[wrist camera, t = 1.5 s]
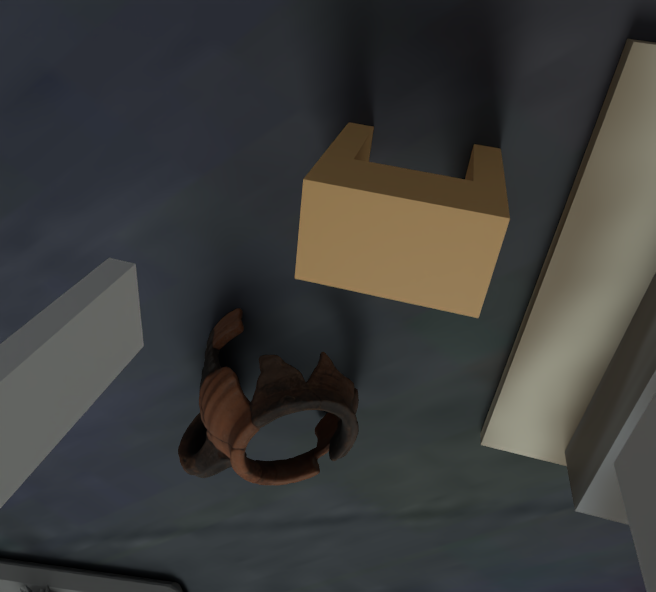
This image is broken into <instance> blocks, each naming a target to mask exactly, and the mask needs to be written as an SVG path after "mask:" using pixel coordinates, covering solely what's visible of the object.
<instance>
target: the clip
mask: <svg viewBox="0 0 656 592" xmlns="http://www.w3.org/2000/svg"><path fill="white" fill-rule="evenodd" d="M373 130H374V127H373V126H367V125H362V124H356V123H350V122H349V123H348V124H347V125H346V126H345V128H344V129H343V130H342V131H341V133H340V134H339V135H338V136H337V138H336V139H335V140H334V141H333V143H332V144H331V145H330V146H329V148H328V149H327V150H326V151H325V153H324V154H323V155H322V156H321V158H320V159H319V160H318V162H317V163H316V164H315V165H314V167H313V168H312V169H311V170H310V172H309V173H308V174H307V175H306V177H305V178H304V179H303V189H302V201H301V212H300V224H299V235H298V247H297V258H296V270H295V279H300V280H304V281H309V282H313V283H318V284H323V285H327V286H332V287H337V288H341V289H346V290H351V291H355V292H360V293H364V294H369V295H374V296H378V297H383V298H388V299H392V300H397V301H401V302H406V303H411V304H415V305H420V306H425V307H429V308H434V309H438V310H443V311H448V312H452V313H457V314H462V315H466V316H471V317H475V318H479V315H480V312H481V308H482V305H483V302H484V299H485V296H486V293H487V289H488V286H489V283H490V280H491V277H492V274H493V271H494V267H495V264H496V261H497V258H498V255H499V252H500V248H501V245H502V242H503V239H504V236H505V233H506V230H507V226H508V223H509V220H510V215H509V207H508V200H507V192H506V185H505V177H504V169H503V162H502V154H501V149H500V148H494V147H488V146H483V145H477V144H474V145H473V149H472V153H471V157H470V161H469V165H468V169H467V173H466V177H465V179H460V178H454V177H449V176H443V175H438V174H432V173H427V172H421V171H416V170H410V169H405V168H399V167H394V166H388V165H383V164H378V163H372V162H369V156H370V150H371V143H372V136H373Z"/></svg>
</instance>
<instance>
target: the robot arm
mask: <svg viewBox="0 0 656 592" xmlns="http://www.w3.org/2000/svg"><path fill="white" fill-rule="evenodd" d="M143 346H144V344H143V334H142V324H141V314H140V304H139V294H138V284H137V274H136V264H134V263H129V262H125V261H120V260H116V259H112V258H108V259H107V260H106V261H105V262H103V263H102V264H101V265H100V266H98V267H97V268H96V269H94V270H93V271H92V272H91V273H89V274H88V275H87V276H86V277H84V278H83V279H82V280H81V281H79V282H78V283H77V284H76V285H74V286H73V287H72V288H71V289H69V290H68V291H67V292H65V293H64V294H63V295H62V296H60V297H59V298H58V299H57V300H55V301H54V302H53V303H52V304H50V305H49V306H48V307H47V308H45V309H44V310H43V311H42V312H40V313H39V314H38V315H36V316H35V317H34V318H33V319H31V320H30V321H29V322H28V323H26V324H25V325H24V326H23V327H21V328H20V329H19V330H18V331H16V332H15V333H14V334H13V335H11V336H10V337H9V338H7V339H6V340H5V341H4V342H2V343H1V344H0V508H1V507H2V506H3V505H4V504H5V503H6V501H7V500H8V499H9V498H10V497H11V496H12V495H13V493H14V492H15V491H16V490H17V489H18V488H19V487H20V486H21V484H22V483H23V482H24V481H25V480H26V479H27V478H28V476H29V475H30V474H31V473H32V472H33V471H34V470H35V469H36V467H37V466H38V465H39V464H40V463H41V462H42V461H43V459H44V458H45V457H46V456H47V455H48V454H49V453H50V452H51V450H52V449H53V448H54V447H55V446H56V445H57V444H58V442H59V441H60V440H61V439H62V438H63V437H64V436H65V435H66V433H67V432H68V431H69V430H70V429H71V428H72V427H73V425H74V424H75V423H76V422H77V421H78V420H79V419H80V418H81V416H82V415H83V414H84V413H85V412H86V411H87V410H88V408H89V407H90V406H91V405H92V404H93V403H94V402H95V401H96V399H97V398H98V397H99V396H100V395H101V394H102V393H103V391H104V390H105V389H106V388H107V387H108V386H109V385H110V384H111V382H112V381H113V380H114V379H115V378H116V377H117V376H118V374H119V373H120V372H121V371H122V370H123V369H124V368H125V367H126V365H127V364H128V363H129V362H130V361H131V360H132V359H133V357H134V356H135V355H136V354H137V353H138V352H139V351H140V350H141V348H142V347H143ZM614 468H615V472H616V475H617V479H618V483H619V487H620V491H621V495H622V499H623V502H624V506H625V510H626V514H627V518H628V522H629V526H630V529H631V533H632V537H633V541H634V545H635V549H636V553H637V556H638V560H639V564H640V568H641V572H642V576H643V580H644V583H645V587H646V591H647V592H656V393H655V394H654V396H653V398H652V399H651V401H650V403H649V404H648V406H647V408H646V410H645V411H644V413H643V415H642V416H641V418H640V420H639V421H638V423H637V425H636V426H635V428H634V430H633V432H632V433H631V435H630V437H629V438H628V440H627V442H626V443H625V445H624V447H623V448H622V450H621V452H620V454H619V455H618V457H617V459H616V460H615V462H614Z"/></svg>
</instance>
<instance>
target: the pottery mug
mask: <svg viewBox="0 0 656 592" xmlns="http://www.w3.org/2000/svg"><path fill="white" fill-rule="evenodd" d="M242 313H243V312H242V310H241V309H240V308H238V309H235V310H233V311H232V312H230V313H228V314H227V315H226V316H224V317H223V318H222V319H221V320H220V321H219V322H218V323H217V324H216V326H215V327H214V329H212V331H211V333H210V335H209V338H208V341H207V348H206V351H205V362H204V368H203V370H202V379H201V383H200V397H199V406H200V413H199V414H198V415H197V416H196V417H195V419H194V420H193V421H192V423H191V424H190V425H189V427H188V428H187V430H186V431H185V433H184V435H183V437H182V439H181V442H180V445H179V449H178V454H179V458H180V463H181V465H182V467H183V469H184V470H185V471H186V472H187V473H188V474H190V475H195V476H198V477H201V478H206V477H210V476H213V475H215V474H218V473H219V472H221V471H223V470H225V469H227V468H229V467H232V468H233V469H234V471H235V472H236V473H237V474H238V475H239V476H241V477H242V478H244V479H245V480H247V481H249V482H252V483H257V484H260V485H283V484H288V483H294V482H298V481H302V480H305V479H308V478H311V477H313V476H315V475H317V474H318V473H320V469H319V464H318V462H317V459H318V458H319V457H321V456H323V455H324V454H326V453H327V452H328V451H329V456H330V459H331V460H332V461H336V460H337V459H340V458H342V457H344V456H345V455H346V454H347V453H348V451H350V449H351V448H352V446H353V444H354V442H355V440H356V438H357V435H358V431H359V430H358V422H357V418H356V415H355V414H356V411H357V408H358V401H359V400H358V390H357V389H356V388H354V383H353V382H352V381H351V380H350V379H349V378H347V377H345V376H344V375H342V374H341V373H340V372H339V371H338V370H337V369H336V367H335V366H334V365H333V363H332V361H331V359H330V358H329V357H328V356H327V355H326V353H325V352H321V354H320V359H319V362H318V365H317V367H316V368H315V369H314V371H313V373H312V374H311V376H310V378H309V379H308V381H307V382H305V380H304V378H303V376H302V374H301V373H300V372H299V371H298V370H297V369H296V368H294V367H293V366H291V365H289V364H287V363H285V362H284V361H283V360H282V359H281V358H280V357H279V356H277V355H263V356H260V357H259V363H260V371H261V374H260V376H259V378H258V380H257V386H256V390H255V393H254V396H253V399H252V401H251V402H250V401H249V400H248V399H247V398H246V396H245V395H244V393H243V391H242V389H241V386H240V383H239V380H238V377H237V375H236V374H235V372H233V371H232V369H230V368H229V367H223V368H221V366H220V363H219V359H218V356H219V350H220V349H221V348H222V347H223V346H224V345H225V344H226V343H228V342H229V341H230V340H232V339H233V338H235V337H236V336H237V335H239V334H241V333H242V332H243V330H244V327H243V323H242V321H241V319H242ZM304 410H321V411H326V412H329V413H327V414H326V415H325V416H324V417H323V418H322V419H321V420H320V422H319V423H318V424H317V426H316V428H315V434H316V436H317V438H318V442H317V447H316V448H314V449H312V450H310V451H309V452H306V453H304V454H301V455H299V456H296V457H294V458H289V459H286V460H276V461H260V460H256V461H254V460H252V459H249V458H247V457H246V453H245V449H246V447H247V444H248V442H249V441H250V440H251V438H252V437H253V436H254V435H255V434H256V433H257V432H258V431H259V429H260V428H261V427H263V426H265V425H266V424H268V423H270V422H272V421H273V420H275V419H277V418H279V417H282V416H284V415H288V414H291V413H295V412H299V411H304ZM339 417H340V418H339Z"/></svg>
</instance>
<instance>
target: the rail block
mask: <svg viewBox="0 0 656 592" xmlns="http://www.w3.org/2000/svg"><path fill="white" fill-rule="evenodd" d="M655 393H656V43H655V42H648V41H641V40H634V39H627V41H626V44H625V47H624V49H623V52H622V55H621V57H620V60H619V63H618V65H617V68H616V71H615V74H614V76H613V79H612V82H611V84H610V87H609V90H608V92H607V95H606V98H605V100H604V103H603V106H602V108H601V111H600V114H599V116H598V119H597V122H596V125H595V127H594V130H593V133H592V135H591V138H590V141H589V143H588V146H587V149H586V151H585V154H584V157H583V159H582V162H581V165H580V168H579V170H578V173H577V176H576V178H575V181H574V184H573V186H572V189H571V192H570V194H569V197H568V200H567V202H566V205H565V208H564V210H563V213H562V216H561V219H560V221H559V224H558V227H557V229H556V232H555V235H554V237H553V240H552V243H551V245H550V248H549V251H548V253H547V256H546V259H545V261H544V264H543V267H542V270H541V272H540V275H539V278H538V280H537V283H536V286H535V288H534V291H533V294H532V296H531V299H530V302H529V304H528V307H527V310H526V313H525V315H524V318H523V321H522V323H521V326H520V329H519V331H518V334H517V337H516V339H515V342H514V345H513V347H512V350H511V353H510V355H509V358H508V361H507V364H506V366H505V369H504V372H503V374H502V377H501V380H500V382H499V385H498V388H497V390H496V393H495V396H494V398H493V401H492V404H491V407H490V409H489V412H488V415H487V417H486V420H485V423H484V425H483V428H482V431H481V445H484V446H488V447H492V448H496V449H500V450H504V451H508V452H512V453H516V454H520V455H524V456H528V457H532V458H536V459H540V460H544V461H549V462H553V463H557V464H561V465H565V466H567V469H568V475H569V480H570V486H571V491H572V497H573V502H574V508H575V511H577V512H581V513H585V514H589V515H593V516H597V517H601V518H605V519H608V520H612V521H616V522H620V523H624V524H628V525H629V522H628V518H627V514H626V510H625V506H624V502H623V499H622V495H621V491H620V487H619V483H618V479H617V475H616V472H615V468H614V462H615V460H616V459H617V457H618V455H619V454H620V452H621V450H622V448H623V447H624V445H625V443H626V442H627V440H628V438H629V437H630V435H631V433H632V432H633V430H634V428H635V426H636V425H637V423H638V421H639V420H640V418H641V416H642V415H643V413H644V411H645V410H646V408H647V406H648V404H649V403H650V401H651V399H652V398H653V396H654V394H655Z"/></svg>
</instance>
